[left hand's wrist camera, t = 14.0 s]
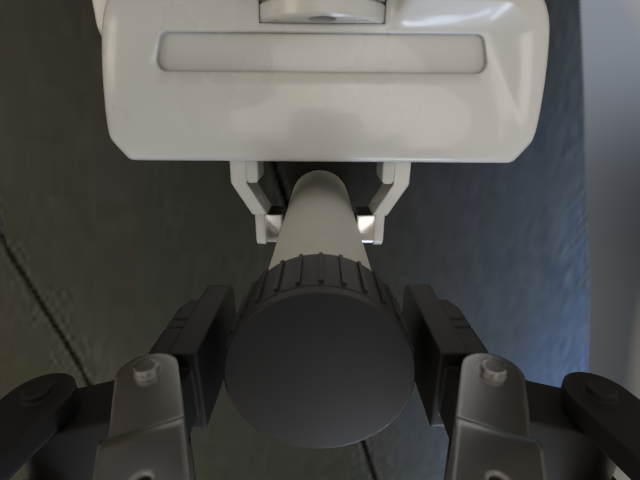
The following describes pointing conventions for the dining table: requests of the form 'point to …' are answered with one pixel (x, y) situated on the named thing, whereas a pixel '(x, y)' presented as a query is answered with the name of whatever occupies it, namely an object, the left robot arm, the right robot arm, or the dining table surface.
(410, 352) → the lid
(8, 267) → the dining table surface
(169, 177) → the dining table surface
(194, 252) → the dining table surface
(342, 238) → the jar
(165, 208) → the dining table surface
